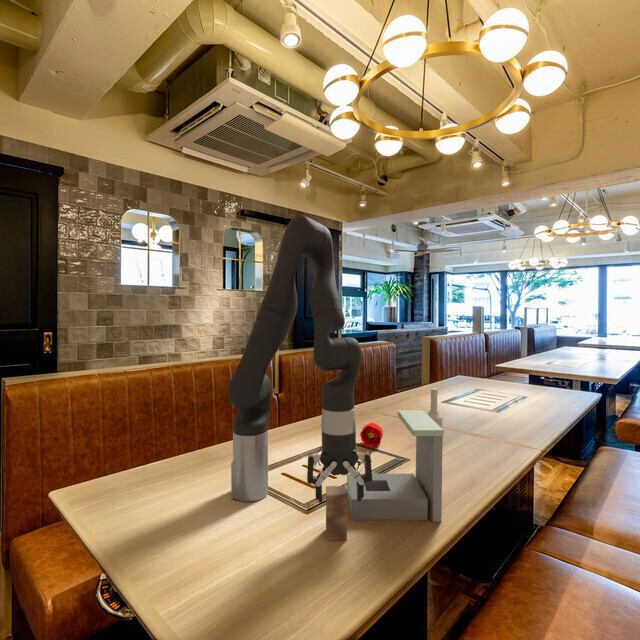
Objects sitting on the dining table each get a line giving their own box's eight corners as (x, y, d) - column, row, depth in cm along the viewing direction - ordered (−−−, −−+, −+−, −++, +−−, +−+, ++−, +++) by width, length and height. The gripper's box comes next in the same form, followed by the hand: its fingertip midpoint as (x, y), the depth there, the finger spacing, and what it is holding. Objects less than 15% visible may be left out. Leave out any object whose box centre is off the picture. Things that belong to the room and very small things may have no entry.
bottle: (428, 463, 126) (429, 386, 125) (444, 468, 123) (445, 388, 122) (421, 469, 122) (422, 389, 121) (437, 473, 119) (438, 391, 118)
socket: (351, 519, 93) (351, 499, 93) (346, 491, 107) (347, 473, 107) (427, 519, 93) (427, 499, 93) (412, 491, 107) (413, 473, 107)
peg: (326, 541, 85) (326, 495, 84) (325, 529, 89) (326, 486, 89) (346, 540, 85) (346, 495, 85) (345, 529, 89) (345, 486, 89)
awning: (412, 523, 92) (413, 430, 91) (397, 489, 109) (397, 410, 108) (442, 523, 92) (443, 430, 91) (422, 489, 109) (423, 410, 108)
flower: (387, 427, 147) (385, 433, 139) (378, 445, 147) (375, 452, 140) (368, 417, 148) (365, 422, 141) (359, 434, 149) (356, 441, 142)
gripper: (306, 434, 83) (307, 510, 83) (373, 432, 83) (374, 507, 84) (306, 423, 90) (307, 493, 91) (368, 422, 91) (368, 491, 91)
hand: (339, 500), depth 87 cm, fingers open, 8 cm apart
